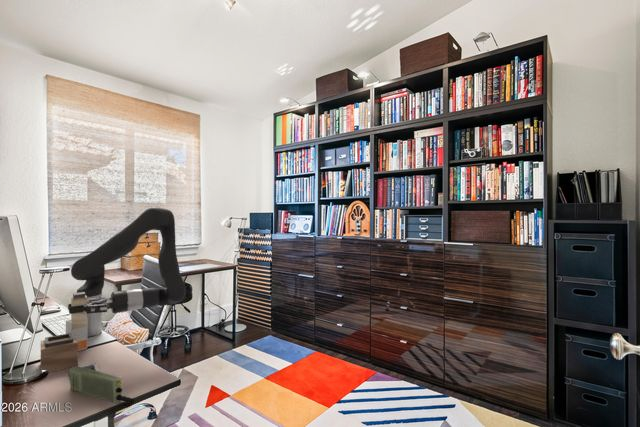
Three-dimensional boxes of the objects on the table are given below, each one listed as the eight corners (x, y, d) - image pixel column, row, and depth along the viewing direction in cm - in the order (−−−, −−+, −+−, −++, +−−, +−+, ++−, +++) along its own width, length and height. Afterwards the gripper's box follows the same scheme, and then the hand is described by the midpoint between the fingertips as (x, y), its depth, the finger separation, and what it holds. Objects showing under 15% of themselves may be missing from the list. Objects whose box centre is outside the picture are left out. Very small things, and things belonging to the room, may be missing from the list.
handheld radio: (79, 385, 108) (138, 402, 98) (68, 390, 105) (127, 409, 95) (78, 364, 107) (137, 379, 98) (67, 369, 104) (126, 385, 95)
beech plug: (71, 326, 116) (71, 293, 116) (85, 324, 119) (85, 291, 119) (72, 329, 113) (72, 295, 113) (86, 327, 116) (87, 293, 116)
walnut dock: (40, 363, 122) (40, 337, 122) (75, 355, 129) (75, 331, 129) (41, 373, 115) (41, 346, 115) (77, 365, 121) (77, 339, 121)
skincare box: (70, 354, 130) (70, 322, 130) (65, 351, 133) (65, 320, 132) (88, 348, 136) (88, 318, 136) (82, 346, 138) (82, 316, 138)
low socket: (69, 373, 115) (69, 369, 115) (95, 366, 120) (96, 363, 120) (70, 381, 109) (70, 378, 109) (99, 374, 114) (99, 371, 114)
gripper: (123, 286, 130) (67, 293, 119) (131, 294, 119) (70, 302, 109) (123, 306, 130) (66, 315, 120) (131, 315, 120) (70, 326, 109)
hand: (68, 308), depth 114 cm, fingers closed on beech plug, 4 cm apart
